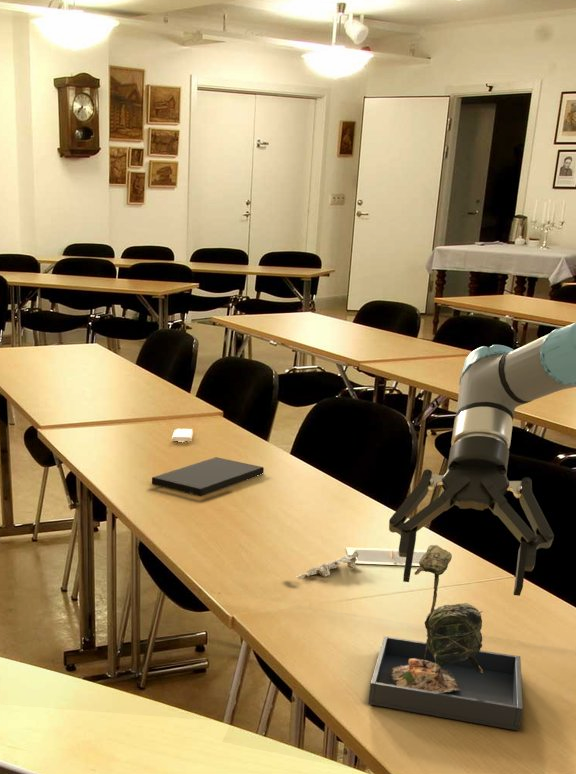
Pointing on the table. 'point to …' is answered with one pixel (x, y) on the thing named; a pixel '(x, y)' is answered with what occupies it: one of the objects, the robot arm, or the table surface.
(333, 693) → the table surface
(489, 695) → the tray
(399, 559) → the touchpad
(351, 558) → the lizard figurine
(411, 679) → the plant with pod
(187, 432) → the white flat block
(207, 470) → the dark grey flat slab
